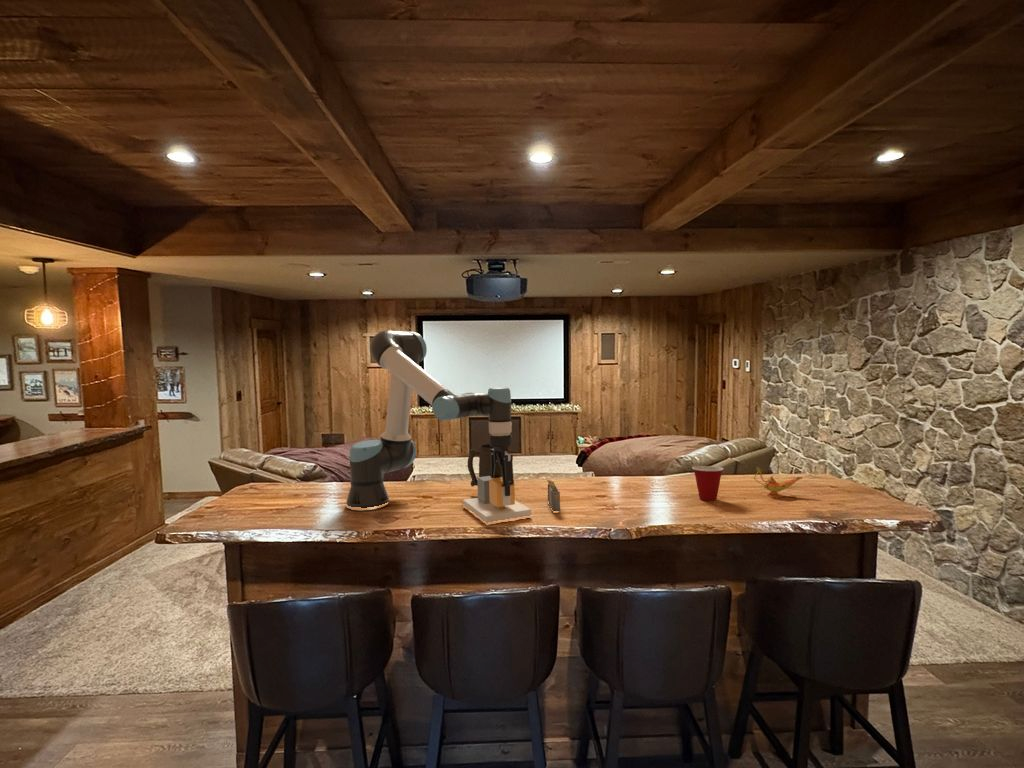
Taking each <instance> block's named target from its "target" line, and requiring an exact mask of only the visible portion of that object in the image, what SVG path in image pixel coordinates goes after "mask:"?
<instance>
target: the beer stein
mask: <svg viewBox="0 0 1024 768" xmlns="http://www.w3.org/2000/svg"><path fill="white" fill-rule="evenodd" d="M490 449H494V447H491V446H490V444H489V443H486V444H480V445H479V449H478V450H476V449H474V448H471V449H469V454H468V458H467V470H468V473H469V475H470V478H471V481H470V486H471V487H474V486H475V487H476V486H477V487H478V480H477V475H476V473H475V469H474V457H478V459H479V461H478V477H484V476H490V469H491V456H490ZM503 463H504V462H503ZM501 477H502V474H501Z"/></svg>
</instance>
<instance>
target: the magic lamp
mask: <svg viewBox="0 0 1024 768" xmlns="http://www.w3.org/2000/svg"><path fill="white" fill-rule="evenodd" d="M756 470H757V473H755V475H754V477H753V478H754V480H755V482H757V483H759V484H761V486H763V489H762V488H760V490H762V491H764V490H767V491H770V492H769V493H767V494H766V496H767V497H770V498H774V497H775V499H776V498H782V497H783V496H782V495H781V494H779V493H778V492H782V491H784V490H785V489H787V488H790V487H791V486H793V485H794V484H795V483H796V482H798V481H799V480H801V479H803V476H798V477H795V478H792V479H790V480H787V481H780V482H777V481H776V480H775V478H774V476H773V475H771V476H770V477H769V478H768V479H767V480H765V479H764V478H763V474H762V468H761V467H757V466H756ZM758 474H759V476H760V479H761V480H762V482H764V483H762V482H760V481H758V480H757V478H756V476H757V475H758Z"/></svg>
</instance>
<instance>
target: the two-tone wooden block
mask: <svg viewBox="0 0 1024 768" xmlns="http://www.w3.org/2000/svg"><path fill="white" fill-rule="evenodd" d="M501 485H503V480H502V477H499V478H491V479H489V496H490V503H492V504H493V505H495V506H496V507H501V506H502V486H501ZM510 490H511V505H514V504H515V501H516V498H515V495H516V493H515V491H516V490H515V484H514V485H511V486H510Z"/></svg>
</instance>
